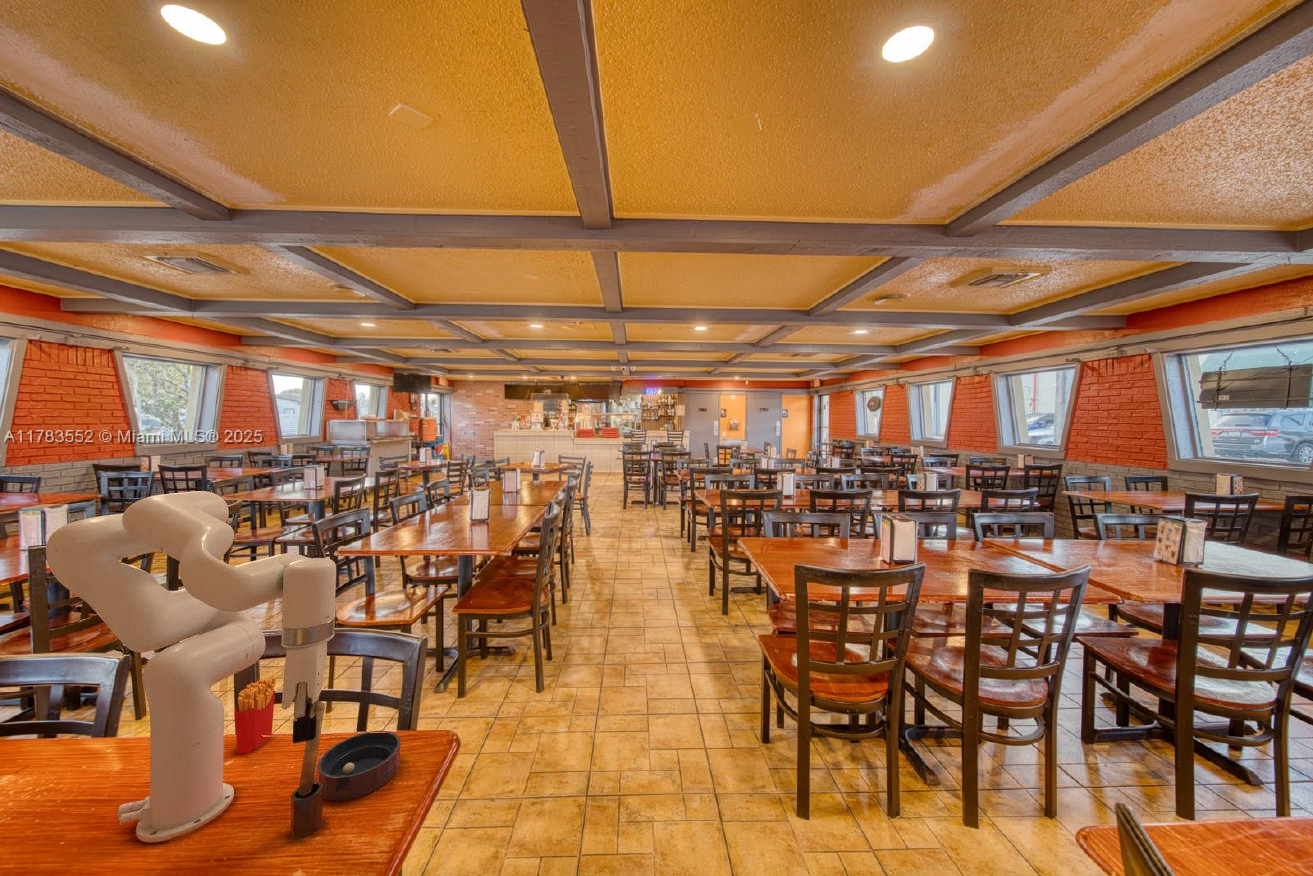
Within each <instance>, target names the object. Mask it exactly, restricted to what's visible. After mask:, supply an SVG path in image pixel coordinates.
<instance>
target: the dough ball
mask: <svg viewBox="0 0 1313 876" xmlns="http://www.w3.org/2000/svg"><path fill="white" fill-rule="evenodd" d="M353 770H354V764H353V763H347V764H346V765H345V766H344V768H343V773H344V774H345V775H348V774H350V773H352V772H353Z"/></svg>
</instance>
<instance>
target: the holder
mask: <svg viewBox="0 0 1313 876" xmlns="http://www.w3.org/2000/svg"><path fill="white" fill-rule="evenodd" d="M298 790H299V786H298V787H297V788H296V789H295V790H293V791H292V793H291V796H290V837H291V838H293V839H305V838H306V837H310V836H311V835H313V834H315V833H316V832H317V831H319V829H320V828H321V826H322V825H323V821H324V798H323V784H322V783H321V782H317V780H315V781H314V780H313V787H312V790H311V792H310V793H309V794H308V795H306V796H300V795H299V794H298Z"/></svg>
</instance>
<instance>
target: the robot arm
mask: <svg viewBox="0 0 1313 876" xmlns="http://www.w3.org/2000/svg"><path fill="white" fill-rule="evenodd" d="M229 510H230V509H229V506H228V503H227V502H226V500H225V499H223V497H222V496H220V495H219V494H217V493H214V492H212V491H205V490H201V491H200V490H198V491H195V490H194V491H186V492H176V493H166V494H157V495H151V496H147V497H144V498H141V499H138V500H137V501H135V502H133V503H131V504H130V505H129V506H128V507H127V508H126V509H125V511H123V513H116V514H115V513H114V514H108V515H107V514H105V515H99V516H93V517H88V518H84V519H83V518H82V519H78V520H76V521H73V522H70V523H67V524H65V525H63V526H61V527H59V528H58V529H56V530H55V531H54V532H53V533H52V534H51V535H50V536H49V538H48V540H47V542H46V546H45V547H46V548H45V556H46V562H47V564H48V568H49V570H50V572H51V574H52V575H53V577H55V579H56V580H57V581H58V582H59V583H60V584H61V585H62V586H63V587H64V588H66V589H67V590H69V591H70V592H71V593H72V594H74V595H76V596H77V597H79V598H80V599H81V600H83V601H84V602H85V603H86V604H88V605H89V606H90V608H92V609H93V611H94V612H95V613H96V614H97V615H98V617H100V619H101V620H102V621H103V622H104V624H105V625H106V626H107V627H108V628H109V630H110V631H111V632H112V633H113V634H114V635H115V636H116V638H117V639H118V640H119V641H120V642H121V643H122V645H124V646H125V647H126V648H127V649H129V650H130V651H131V652H134V653H141V654H142V653H149V652H153V651H156V650H159V649H162V650H161V651H159V652H158V653H156V654H155V655H154V656H153V657H151V658H150V660H149V661H147V663H146V664H145V666H144V668H143V671H142V677H141V679H142V685H143V690H144V693H145V696H146V697H145V698H146V700H147V704H148V712H149V739H150V740H149V741H150V748H149V751H150V752H149V753H150V756H149V757H150V758H149V759H150V760H149V761H150V763H149V796H146V797H145V798H144V799H142V800H138V801H132V802H128V803H123V804H120V806H119V807H118V808H117V811H116V812H117V813H116V818H117V819H119V825H123V824H127V823H131V822H134V821H137V820H138V823H137V825H136V827H135V836H136V838H137V839H138V840H139V841H141V842H143V843H161V842H166V841H171V840H172V839H173V838H177V837H180V836H182V835H185V834H188V833H190V832H192V831H195V830H197V829H199V828H200V827H202V826H204V825H206V824H208V823H209V822H211V821H212V820H214V819H216V817H218V816H219V815H221V814H222V813H223V812H224V811H225V810H226V809H227V808H228V807H229V806H230V805H231V804H232V802H233V800H234V797H235V789H234V787H233V786H232V785H231V784H228V783H225V782H224V765H225V764H224V763H225V762H224V759H225V757H224V755H225V708H224V704H223V702H222V700H221V698H219V697H218V696H216V695H215V694H214V693H213V692H212V689H211V688H212V686H214V685H216V684H217V683H220V682H221V681H223V680H224V679H227V678H229V677H231V676H234V675H235V674H237V673H239V672H242V671H243V670H245V669H248V668H249V667H251V666H252V665H254V664H255V663H257V662H258V661H259V660H260V659H261V658H262V656H263V655H264V653H265V650H266V645H267V644H266V642H267V641H266V638H265V635H264V632H263V630H262V629H261V628H260V626H259V625H258V624H257V622H256V621H255V620H254V619H253V618H252V617H251V615H249V613H248V612H247V611H246V610H249V609H253V608H255V607H258V606H260V605H264V604H266V603H269V602H272V601H274V600H278V599H279V600H280V599H282V603H281V604H282V608H281V642H280V645H281V647H283V648H285V649H286V655H285V660H284V661H285V662H284V670H283V683H282V697H281V709H283V710H287V709H290V708H291V705H292V704H293V719H292V744H300V743H303V742H306V741H308V740H313V739H314V738H315V737H316V718H317V714H316V715H314V714H315V703H316V702H320V695H321V692H322V690H323V686H324V683H325V681H326V675H327V663H328V662H327V659H328V657H327V656H328V642H329V641H330V640H332V639H333V638H334V637H335V634H336V633H335V631H336V630H335V629H336V625H335V624H336V597H337V594H336V593H337V591H336V590H337V565H336V562H335V561H334V560H332V559H330V558H327V557H326V558H325V557H312V558H311V557H308V556H304V555H302V554H298V553H292V552H291V553H290V552H287V553H280V554H276V555H272V556H268V557H264V558H261V559H257V560H253V561H249V562H245V563H241V564H238V565H232V564H229V563H226V562H224V561H222V560H221V558H222V557H223V556H224V555H225V554H226V553H227V552H228V551H229V549H230V548H231V546H232V545H233V543H234V539H235V531H234V529H233V527H232V526H231V525H230V524H228V523H226V522H227V520H228V518H229V514H230V511H229ZM156 552H161V553H164V554H165V555H167V556H169V557H171V558H172V559H174V560H176V561H177V562H179V565H178V566H179V567H178V573H179V578H180V580H181V583H182V586H183V587H184V588H182V589H179V590H168V589H166V588H165V587H164V586H162V584H161V583H159V581H158V579H156V578H155V576H153V575H152V574H151V573H149V572H147V571H145V570H144V569H142V568H139V567H137V566H135V565H131V564H127V563H125V562H121V561H119V560H120V559H125V558H131V557H135V556H140V555H145V554H150V553H156ZM165 647H166V648H165ZM163 648H164V649H163Z"/></svg>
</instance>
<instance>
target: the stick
mask: <svg viewBox="0 0 1313 876" xmlns="http://www.w3.org/2000/svg"><path fill="white" fill-rule="evenodd" d="M325 708H326V706H325V703H324V702H322V701H319V702H316V703H315V714H314V715H316V714H317V718H316V737H315V738H314V739H313V740H308V741H305V746H304V750H303V751H304V752H303V758H302V763H301V764H302V765H301V770H300V778H299V783H298V787H299V790H298V794H299V795H300V796H306V795H308V794H309V793H310V792H311V790H312V787H313V782H314V780H315V773H316V768H317V760H318V755H319V754H318V753H319V747H320V740H321V735H322V728H323V720H324V714H325Z"/></svg>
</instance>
